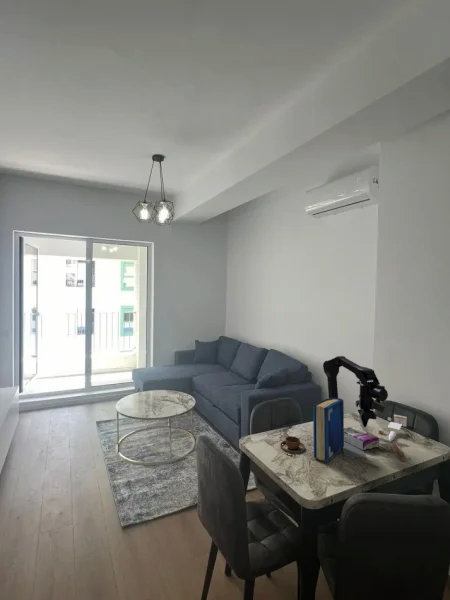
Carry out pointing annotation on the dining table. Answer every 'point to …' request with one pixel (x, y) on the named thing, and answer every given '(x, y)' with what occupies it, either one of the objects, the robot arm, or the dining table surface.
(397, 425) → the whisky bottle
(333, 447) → the book
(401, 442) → the dining table surface
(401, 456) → the back rail
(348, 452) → the mat
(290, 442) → the brown cup and saucer
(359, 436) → the candy bar box
